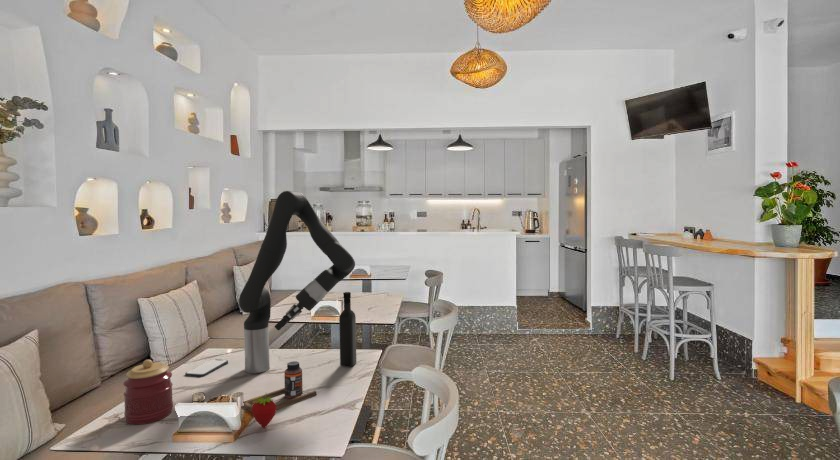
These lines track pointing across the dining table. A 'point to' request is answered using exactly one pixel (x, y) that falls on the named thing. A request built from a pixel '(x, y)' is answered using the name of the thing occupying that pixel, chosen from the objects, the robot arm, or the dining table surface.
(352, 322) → the wine bottle
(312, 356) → the dining table surface
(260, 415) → the strawberry
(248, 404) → the walnut track
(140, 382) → the canister
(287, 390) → the supplement bottle
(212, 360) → the phone case
